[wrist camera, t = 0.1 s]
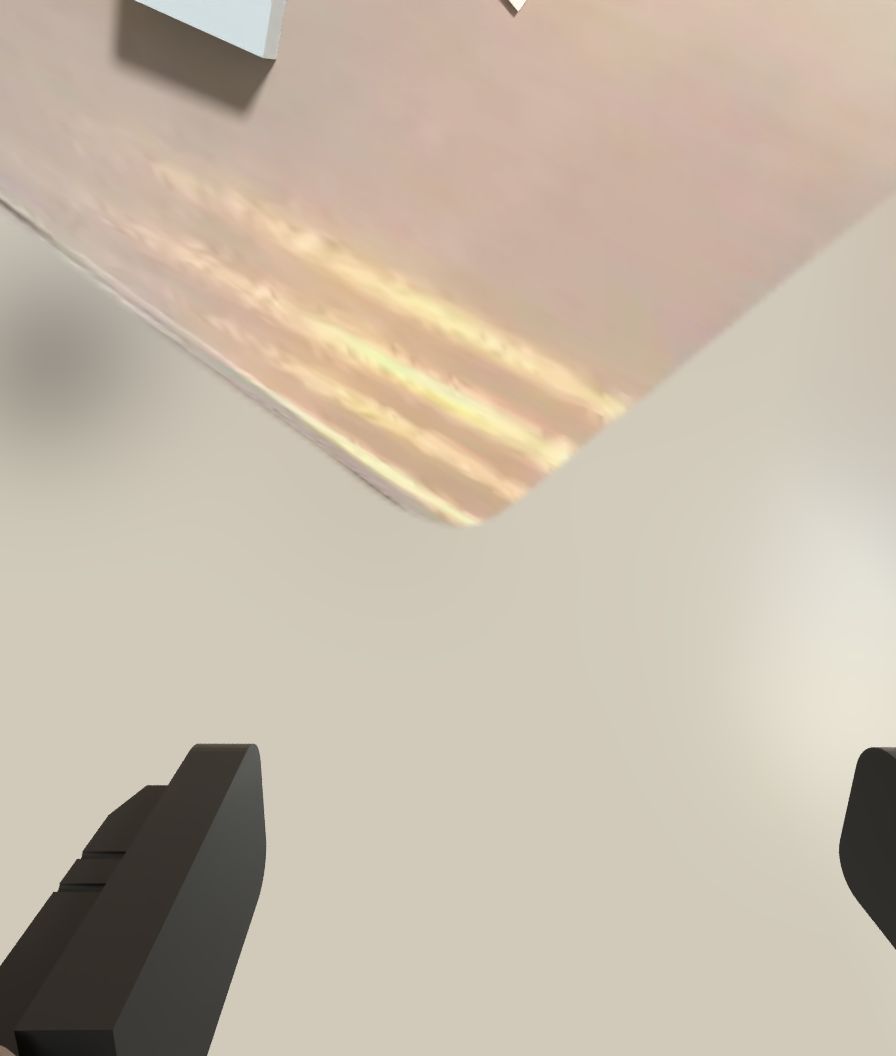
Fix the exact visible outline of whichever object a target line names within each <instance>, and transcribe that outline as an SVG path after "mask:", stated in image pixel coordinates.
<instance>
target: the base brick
mask: <svg viewBox="0 0 896 1056" xmlns="http://www.w3.org/2000/svg"><path fill="white" fill-rule="evenodd" d="M135 1H137V2H140V3H142V4H144V5H146V6H148V7H151V8H153V9H155V10H157V11H160V12H162V13H164V14H166V15H168V16H171V17H173V18H175V19H177V20H180V21H182V22H184V23H186V24H188V25H191V26H193V27H195V28H197V29H200V30H202V31H204V32H206V33H208V34H211V35H213V36H215V37H217V38H220V39H222V40H224V41H226V42H229V43H231V44H233V45H235V46H237V47H240V48H242V49H244V50H246V51H249V52H251V53H253V54H255V55H257V56H260V57H262V58H267V59H275V60H276V59H277V53H278V47H279V42H280V36H281V30H282V25H283V19H284V13H285V8H286V2H287V0H135Z"/></svg>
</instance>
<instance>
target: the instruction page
mask: <svg viewBox="0 0 896 1056" xmlns="http://www.w3.org/2000/svg"><path fill="white" fill-rule="evenodd" d="M525 1H526V0H509V2H510V3H511V4H512V5H513V6H514V8H515V9H516V10H517V11H519V10H520V8H521V7H522V6H523V4H524V3H525Z"/></svg>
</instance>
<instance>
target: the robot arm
mask: <svg viewBox="0 0 896 1056" xmlns="http://www.w3.org/2000/svg"><path fill="white" fill-rule="evenodd" d="M262 791H263V790H262V776H261V761H260V754H259V750H258V747H257V746H256V745H255V744H196V745H194V747H192V749H191V750H190V751H189V753H188V754H187V756H186V758H185V759H184V761H183V762H182V764H181V765H180V767H179V769H178V770H177V772H176V774H175V775H174V777H173V778H172V780H171V781H170V783H169V785H166V786H164V785H162V786H161V785H160V786H159V785H153V786H152V785H147V786H146V787H144V788H143V789H142V790H140V791H139V792H138V793H137V794H136V795H134V796H133V797H131V798H130V799H129V800H128V801H126V802H125V803H124V804H122V805H121V806H120V807H118V808H117V809H116V810H115V811H114V812H112V813H111V814H110V815H108V817H107V818H106V820H105V821H104V822H103V824H102V825H101V826H100V828H99V829H98V831H97V832H96V834H95V835H94V836H93V838H92V839H91V840H90V842H89V843H88V845H87V846H86V848H85V849H84V850H83V854H82V858H81V859H77V860H76V861H75V863H74V864H73V865H72V867H71V868H70V870H69V871H68V873H67V874H66V875H65V877H64V878H63V879H62V881H61V882H60V886H59V890H58V892H53V894H52V895H51V896H50V898H49V899H48V900H47V902H46V903H45V904H44V906H43V907H42V909H41V910H40V912H39V913H38V914H37V916H36V917H35V918H34V920H33V921H32V923H31V924H30V925H29V927H28V928H27V930H26V931H25V932H24V934H23V935H22V937H21V938H20V939H19V941H18V942H17V943H16V945H15V946H14V948H13V949H12V951H11V952H10V953H9V955H8V956H7V957H6V959H5V960H4V962H3V963H2V965H1V966H0V1056H207V1054H208V1051H209V1048H210V1045H211V1042H212V1039H213V1036H214V1033H215V1030H216V1026H217V1024H218V1020H219V1017H220V1014H221V1011H222V1008H223V1005H224V1002H225V999H226V996H227V993H228V990H229V987H230V983H231V981H232V978H233V975H234V972H235V969H236V965H237V963H238V959H239V956H240V953H241V950H242V947H243V944H244V941H245V938H246V935H247V932H248V929H249V926H250V923H251V920H252V917H253V913H254V911H255V907H256V904H257V901H258V898H259V895H260V891H261V887H262V881H263V876H264V869H265V860H266V833H265V820H264V805H263V792H262ZM839 856H840V863H841V867H842V871H843V874H844V877H845V880H846V882H847V884H848V886H849V888H850V890H851V892H852V894H853V895H854V896H855V898H856V899H857V901H858V902H859V903H860V904H861V906H862V907H863V908H864V910H865V911H866V912H867V913H868V915H869V916H870V917H871V919H872V920H873V921H874V922H875V924H876V925H877V926H878V927H879V929H880V930H881V931H882V932H883V934H884V935H885V936H886V938H887V939H888V940H889V941H890V943H891V944H892V945H893V946H894V948H895V949H896V748H887V747H883V748H882V747H880V748H879V747H877V748H875V747H873V748H868V749H866V750H865V751H864V752H863V753H862V754H861V755H860V757H859V759H858V762H857V765H856V769H855V774H854V779H853V783H852V788H851V793H850V797H849V801H848V806H847V811H846V815H845V820H844V825H843V829H842V834H841V839H840V844H839Z"/></svg>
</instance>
